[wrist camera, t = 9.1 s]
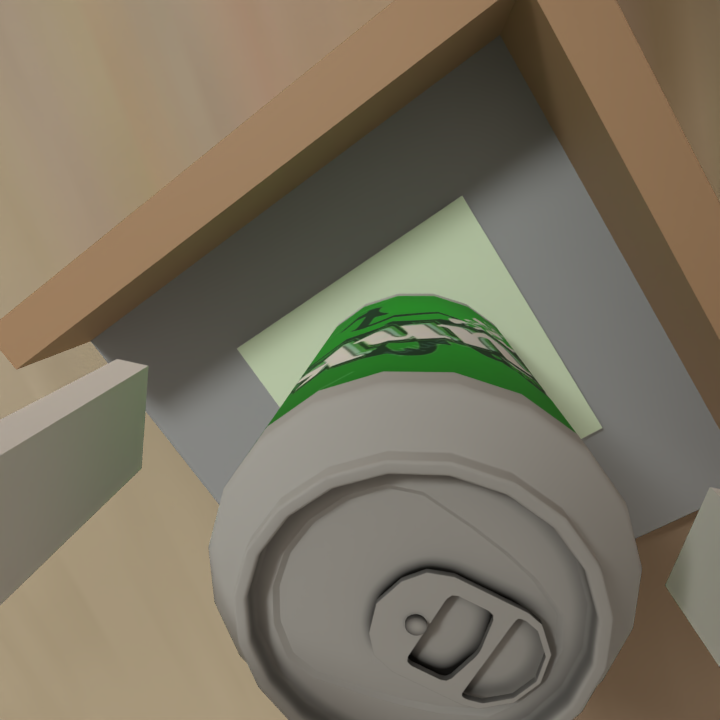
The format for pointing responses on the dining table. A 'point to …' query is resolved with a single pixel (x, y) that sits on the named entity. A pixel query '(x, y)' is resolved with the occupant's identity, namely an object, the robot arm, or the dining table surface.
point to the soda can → (423, 533)
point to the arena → (412, 207)
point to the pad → (422, 276)
